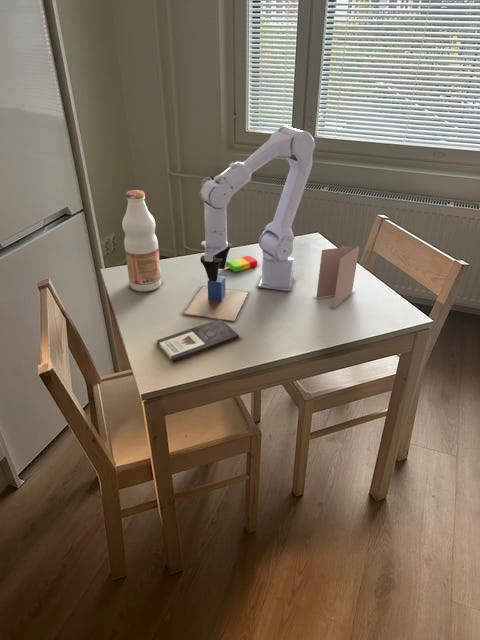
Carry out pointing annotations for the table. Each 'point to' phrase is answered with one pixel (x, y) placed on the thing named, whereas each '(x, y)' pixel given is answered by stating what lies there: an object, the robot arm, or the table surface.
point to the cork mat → (217, 305)
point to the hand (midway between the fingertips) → (216, 274)
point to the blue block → (216, 289)
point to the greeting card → (337, 272)
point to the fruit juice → (141, 244)
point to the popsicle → (240, 264)
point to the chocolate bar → (197, 340)
